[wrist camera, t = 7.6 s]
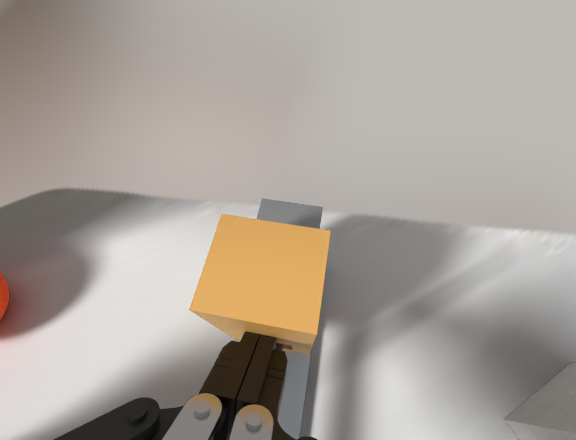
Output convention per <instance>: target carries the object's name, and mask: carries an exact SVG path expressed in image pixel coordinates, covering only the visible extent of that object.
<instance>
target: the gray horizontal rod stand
mask: <svg viewBox="0 0 576 440" xmlns="http://www.w3.org/2000/svg"><path fill="white" fill-rule="evenodd" d="M321 216H322V207H318V206H310V205H304V204H297V203H290V202H283V201H276V200H269V199H262V201H261V205H260V209H259V212H258V216H257V219H258V220H264V221H271V222H277V223H284V224H291V225H297V226H304V227H310V228H317V229H320V223H321ZM283 345H284V344H281V343H276V348H275V350H280V351H285V353H286V357H287V360H288V363H287V370H286V378H285V385H284V391H283V395H282V400H281V405H280V410H279V415H278V422H279V425H280V426H281V428H282V429H283V430H284V431H285V432H286V433H287V434H288V435H290V436H291V437H293V438H294V439H296V440H297V439H299V437H300V430H301V422H302V415H303V408H304V401H305V394H306V386H307V379H308V372H309V365H310V357H311V351H310V353H309V355H306V354H301V353H297V352H292V351H287V350H283ZM311 350H312V348H311Z"/></svg>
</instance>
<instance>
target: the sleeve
mask: <svg viewBox="0 0 576 440" xmlns="http://www.w3.org/2000/svg"><path fill="white" fill-rule="evenodd" d="M330 234H331V231H330V230H323V229H317V228H310V227H304V226H297V225H291V224H284V223H277V222H271V221H264V220H258V219H251V218H245V217H238V216H231V215H225V214H222V215H221V218H220V221H219V223H218V226H217V229H216V232H215V235H214V238H213V241H212V244H211V247H210V250H209V253H208V256H207V259H206V262H205V265H204V268H203V271H202V274H201V277H200V280H199V283H198V286H197V288H196V291H195V294H194V297H193V300H192V303H191V306H190V309H189V310H190V311H192V312H193V313H195V314H197V315H198V316H200V317H201V318H203V319H204V320H206V321H208V322H209V323H211V324H212V325H214V326H216V327H217V328H219V329H220V330H222V331H223V332H225V333H227V334H228V335H230V336H231V337H233V338H235V339H236V340H238V341H241V339H242V336H243V334H244V332H250V333H255V334H260V335H266V336H271V337H276V343H281V344H284V345H283V350H287V351H292V352H297V353H301V354H306V355H309V353H310V351H311V348H312V346H313V343H314V341H315V339H316V336H317V331H318V324H319V316H320V309H321V301H322V294H323V286H324V279H325V271H326V264H327V256H328V249H329V241H330Z"/></svg>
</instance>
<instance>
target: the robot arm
mask: <svg viewBox="0 0 576 440" xmlns="http://www.w3.org/2000/svg"><path fill="white" fill-rule="evenodd" d="M275 348H276V337H271V336H266V335H260V334H255V333H250V332H244V334H243V336H242V339H241V341H240V342H236V341H231V342H229V343H228V344H227V345H226V346H224V347H223V349H222V351H221V353H220V354H219V356H218V358H217V360H216V362H215V365H214V366H213V368H212V370H211V372H210V373H209V375H208V377H207V379H206V381H205V383H204V385H203V387H202V389H201V390H200V392H199V394H198V395H196V396H194V397H192V398H191V399H189V400H188V401H187V403H186V404H185V405H184V406H181V407H177V408H168V409H160V408H159V405H158V403H157V402H156V401H155V400H154V399H151V398H138V399H135V400H133V401H130V402H128V403H126V404H124V405H122V406H120V407H118V408H116V409H114V410H112V411H110V412H108V413H106V414H104V415H102V416H100V417H98V418H96V419H94V420H92V421H90V422H88V423H86V424H84V425H82V426H80V427H78V428H76V429H74V430H72V431H70V432H68V433H66V434H64V435H62V436H60V437H58V438H56V439H54V440H296V439H294V438H293V437H291V436H290V435H288V434H287V433H286V432H285V431H284V430H283V429H282V428H281V426H280V425H279V422H278V415H279V410H280V405H281V400H282V395H283V391H284V385H285V378H286V370H287V363H288V360H287V357H286V353H285V351H280V350H275ZM297 440H317V439H315V438H313V437H301V438H299V439H297Z"/></svg>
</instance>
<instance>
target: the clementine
mask: <svg viewBox="0 0 576 440" xmlns="http://www.w3.org/2000/svg"><path fill="white" fill-rule="evenodd" d="M8 303H9V289H8V284H7V282H6V280H5V278H4V277H3V275H2V274H1V273H0V320H1V318H2V317H3V315H4V313H5V311H6V309H7V307H8Z"/></svg>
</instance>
